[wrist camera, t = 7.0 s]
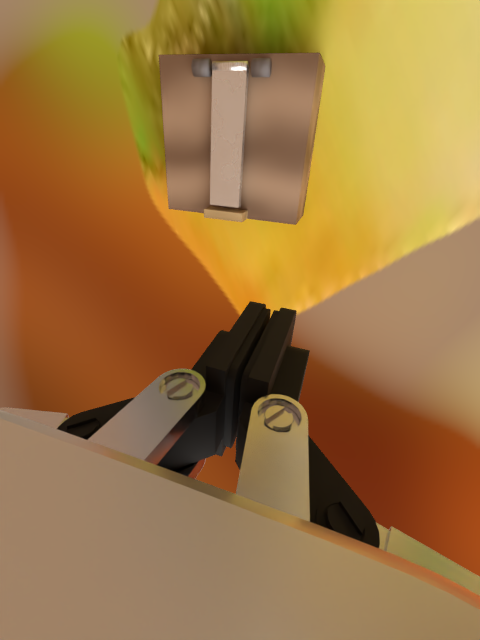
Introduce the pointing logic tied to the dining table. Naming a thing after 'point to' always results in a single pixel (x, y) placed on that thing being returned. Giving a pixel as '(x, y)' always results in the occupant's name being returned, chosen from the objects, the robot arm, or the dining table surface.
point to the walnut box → (260, 133)
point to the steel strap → (228, 131)
